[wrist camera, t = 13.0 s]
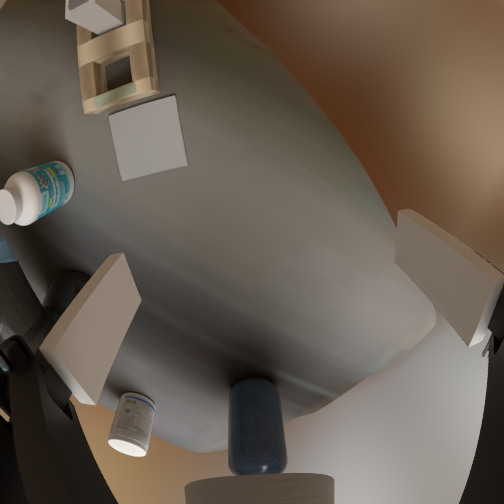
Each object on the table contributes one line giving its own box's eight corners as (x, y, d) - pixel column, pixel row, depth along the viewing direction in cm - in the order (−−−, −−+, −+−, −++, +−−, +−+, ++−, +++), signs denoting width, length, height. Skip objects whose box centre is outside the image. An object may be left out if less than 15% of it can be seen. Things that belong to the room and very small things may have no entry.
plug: (107, 39, 26) (62, 17, 15) (106, 19, 25) (63, -7, 13) (132, 30, 26) (92, 1, 15) (130, 10, 25) (93, -22, 13)
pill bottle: (80, 199, 37) (29, 231, 25) (49, 208, 37) (-2, 239, 25) (71, 154, 34) (14, 171, 21) (39, 166, 34) (-16, 187, 22)
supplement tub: (143, 414, 61) (133, 459, 48) (115, 397, 58) (100, 442, 45) (163, 405, 59) (154, 454, 46) (132, 386, 56) (118, 436, 42)
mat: (123, 180, 36) (122, 181, 36) (110, 115, 32) (108, 115, 31) (188, 165, 36) (187, 165, 35) (175, 95, 32) (174, 95, 31)
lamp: (331, 383, 57) (375, 553, 18) (251, 424, 64) (259, 569, 25) (256, 329, 48) (277, 586, 10) (173, 385, 55) (148, 565, 16)
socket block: (96, 114, 32) (81, 114, 28) (87, 17, 24) (74, 9, 20) (160, 92, 31) (150, 89, 27) (148, -8, 24) (139, -19, 20)
